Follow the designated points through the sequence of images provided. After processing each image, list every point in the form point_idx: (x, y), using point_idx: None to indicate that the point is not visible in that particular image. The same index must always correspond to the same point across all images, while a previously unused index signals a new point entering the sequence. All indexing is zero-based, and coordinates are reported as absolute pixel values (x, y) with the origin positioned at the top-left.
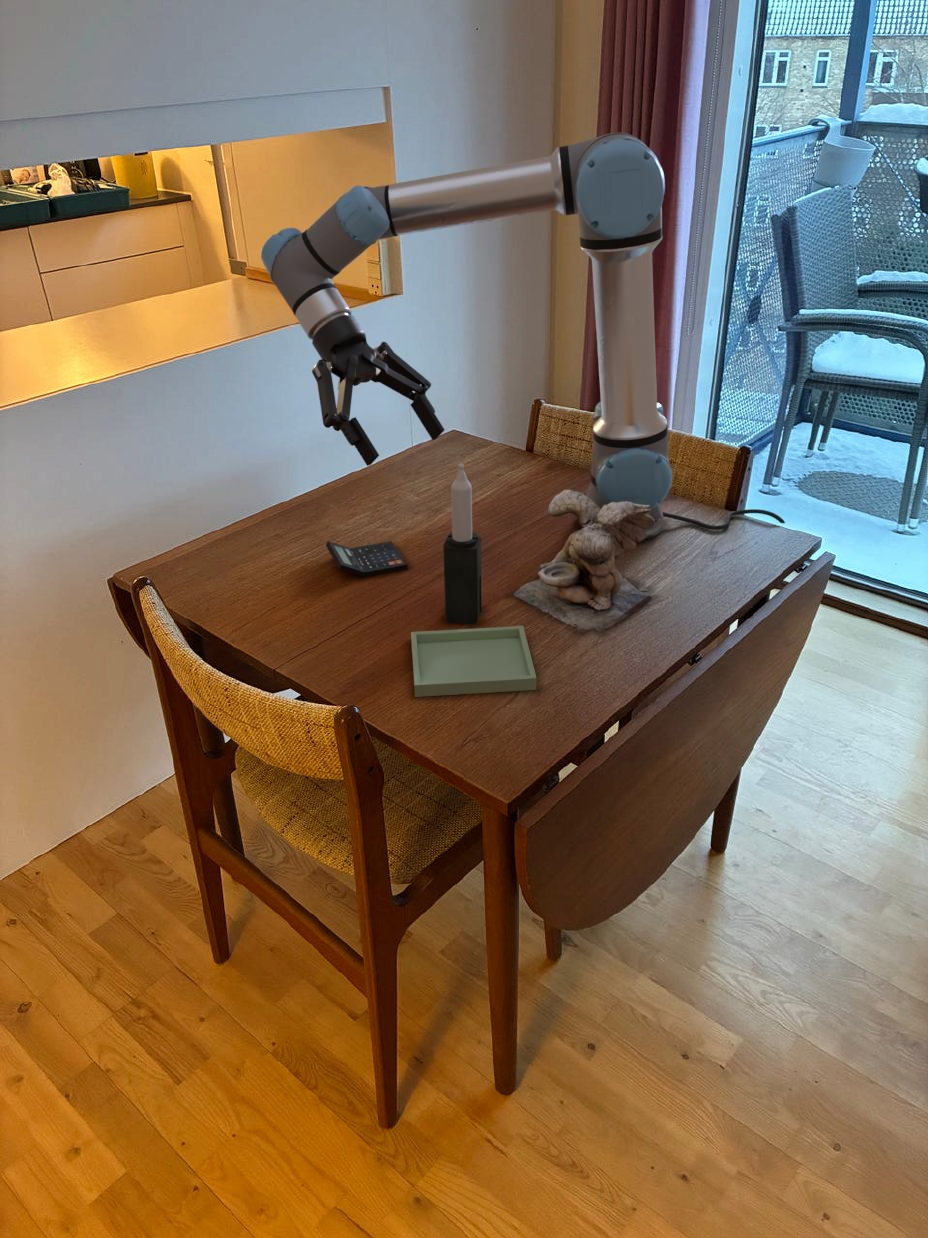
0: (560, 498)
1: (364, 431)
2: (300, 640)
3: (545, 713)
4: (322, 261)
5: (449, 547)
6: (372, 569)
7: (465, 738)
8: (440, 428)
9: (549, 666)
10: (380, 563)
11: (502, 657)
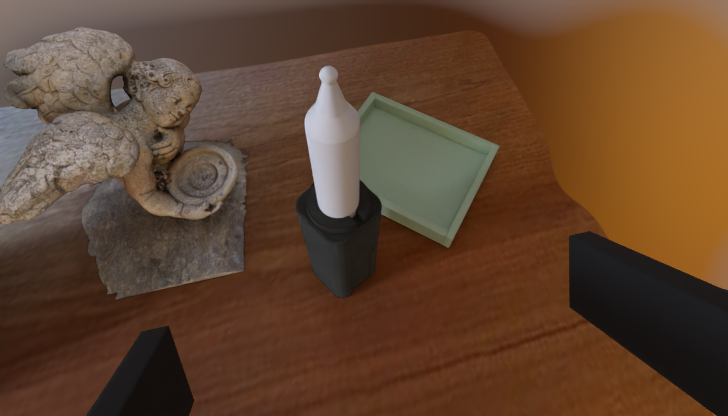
0: (98, 134)
1: (684, 293)
2: (603, 354)
3: (388, 77)
4: None
5: (375, 198)
6: None
7: (476, 87)
8: (157, 336)
9: None
10: None
11: (367, 155)
